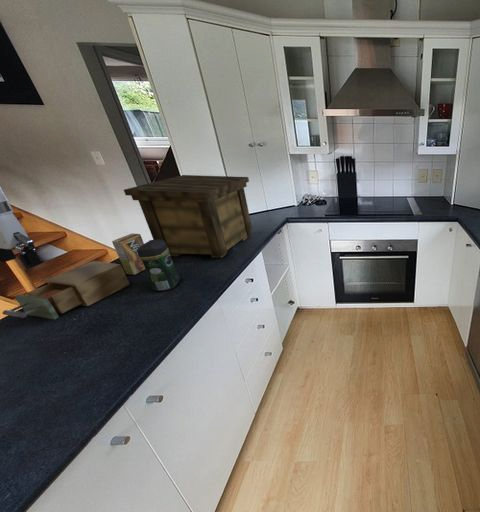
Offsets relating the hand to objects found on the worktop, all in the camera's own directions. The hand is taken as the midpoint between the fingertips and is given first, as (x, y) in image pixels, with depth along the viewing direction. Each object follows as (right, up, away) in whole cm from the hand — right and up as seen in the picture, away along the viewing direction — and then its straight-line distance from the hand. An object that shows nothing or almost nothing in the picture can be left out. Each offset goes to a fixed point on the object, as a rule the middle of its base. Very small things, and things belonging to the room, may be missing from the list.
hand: (21, 262), depth 84 cm
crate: (+22, +7, +58) cm, 62 cm away
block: (+2, -15, +8) cm, 17 cm away
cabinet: (+4, -12, +18) cm, 22 cm away
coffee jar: (+26, -10, +24) cm, 37 cm away
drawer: (+2, -16, +7) cm, 18 cm away
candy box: (+6, -4, +34) cm, 35 cm away
